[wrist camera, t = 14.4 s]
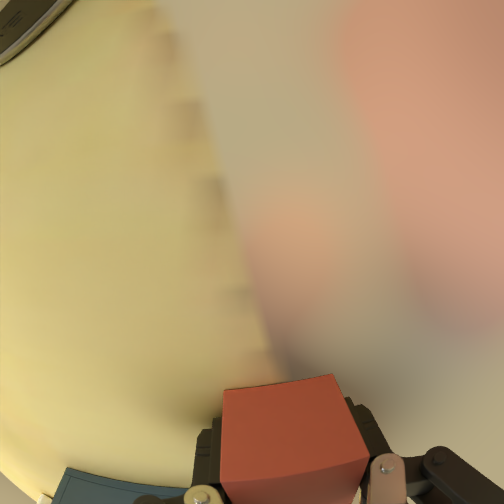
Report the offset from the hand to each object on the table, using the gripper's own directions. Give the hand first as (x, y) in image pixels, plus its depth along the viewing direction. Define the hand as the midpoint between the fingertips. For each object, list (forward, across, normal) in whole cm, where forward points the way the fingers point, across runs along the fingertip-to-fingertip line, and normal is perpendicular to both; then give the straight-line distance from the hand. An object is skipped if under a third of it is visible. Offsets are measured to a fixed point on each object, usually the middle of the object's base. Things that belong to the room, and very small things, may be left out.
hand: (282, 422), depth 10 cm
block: (0, 0, 0) cm, 0 cm away
